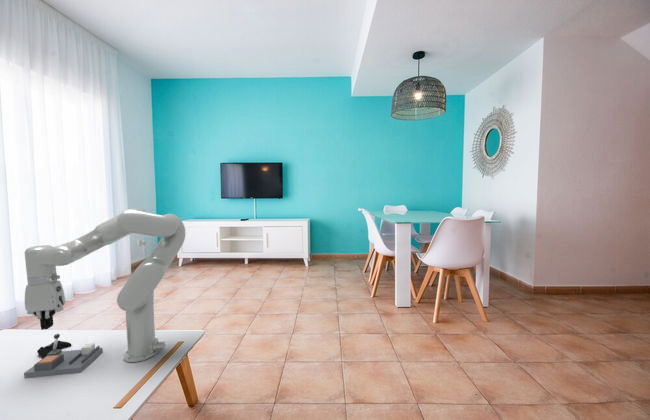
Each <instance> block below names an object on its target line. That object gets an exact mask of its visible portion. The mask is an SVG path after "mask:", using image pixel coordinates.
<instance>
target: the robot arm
mask: <svg viewBox="0 0 650 420" xmlns="http://www.w3.org/2000/svg"><path fill="white" fill-rule="evenodd" d="M132 234H138V235H143V236H151V237H157V238H160V239H159V241H158V243H157V244H156V245H155V248H153V250H152V251H151V253H150V254H149V255H148V257H147V258H146V259H144V260H143V261H142V262H141V263H140V264H138V267H137V268H136V269H135V270H134V271H133V272H132V274H131V275H130V277H129V278H128V280H127V281H126V282H125V284H124V285H123V287H122V288H121V289H120V291H119V292H118V294H117V298H116V303H117V306H118V308H120V310H122V311H125V325H126V327H125V328H126V341H127V350H126V352H124V354H123V360H124V361H125V362H126V363H137V362H143V361H146V360H148V359H150V358H153V357H154V356H155V355H157V354H158V353H159V352H160V350H164V349H166V347H167V344H166V341H159V338H158V337H156V330H155V329H156V328H155V326H156V325H155V308H154V305H155V304H154V300H155V298H154V297H155V289H156V288H157V286H158V285H159V284H160V282H161V280H162V279H163V278H164V276H165V275H166V273H167V271H168V269H169V267H170V265H171V264H172V262H173V261H174V260H175V258H176V256H177V254H178V253H179V252H180V250H181V249H182V246H183V245H184V242H185V240H186V227H185V224H184V223H183V221H182V219H181V218H180V217H179V216H178V215H176V214H174V213H165V214H162V215H161V214H156V213H149V212H147V211H146V210H145V209H143V208H140V207H134V208H128V209H125V210H123V211H121V213H119V214H117V215H116V216H114V217H112V218H110V219H108V220H105V221H104V222H101V223H99V224H98V225H96V226H95V228H94V229H93V230H91V231H90V232H87V233H86V234H83V235H81V236H80V237H78V238H76V239H74V240H72V241H69V242H66V243H63V244H60V245H59V244H58V245H57V246H52V245H49V244H48V245H47V244H45V245H44V244H43V245H35V246H30V247H27V248H26V249H25V251H24V261H25V269H26V270H25V271H26V280H27V281H26V282H27V284H26V287H25V288H24V289H25V290H24V308H25V311H27V312H26V313H27V314H28V315H33V316H35V317H36V318H37V319H38V320H39V322H40V330H41V331H42V330H43V331H44V330H49V329H50V328H51V327H53V326H54V315H55V314H56V313H59V312H61V311H64V305H65V304H66V297H65V292H64V291H65V290H64V288H63V285H62V282H61V281H60V278H61V276H60V275H57V274H58V273H57V267H62V266H67V265H71V264H72V263H74V262H76V261H78V260H81V259H82V258H84V257H86V256H89V255H91V254H92V253H94V252H95V251H98V250H100V249H101V248H103V247H106V246H109V245H112V244H114V243H116V242H118V241H120V240H121V239H123V238H126V237H127V236H129V235H132Z"/></svg>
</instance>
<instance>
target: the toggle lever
mask: <svg viewBox="0 0 650 420" xmlns="http://www.w3.org/2000/svg"><path fill="white" fill-rule="evenodd" d="M60 336H61V335H60V333H56V334H54V335H53V338H54V340H53V342H54V346H53V351H55V350H57V349H56V348H57V342H58V341H59V338H60Z"/></svg>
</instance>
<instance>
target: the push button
mask: <svg viewBox="0 0 650 420" xmlns="http://www.w3.org/2000/svg"><path fill="white" fill-rule="evenodd" d="M58 357H59V355H56V356H47V357H46V358H44V359H43V358H42V359H43V360H42V359H41V360H42V361H40V360H39V361H40V362H39V361H38V362H39V363H38V364H41V363H51V362H53V361H54V360H55V359H57V358H58Z"/></svg>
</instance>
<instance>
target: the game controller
mask: <svg viewBox="0 0 650 420" xmlns="http://www.w3.org/2000/svg"><path fill="white" fill-rule="evenodd" d="M53 346H54V341H53V342H51V343H50V344H48V345H46V346H40V347H39V348H38V349H37V351H36V352H37V354H38V356H40V357H42V359H43V358H44V357H46V356H47V354H48V353H50V352H51V351H52V350H53ZM59 347H62V348H66V349H67V348H71V347H72V343H70V342H68V341H63V340H59V339H58V342H57V348H56V350H59V349H58V348H59Z"/></svg>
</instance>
